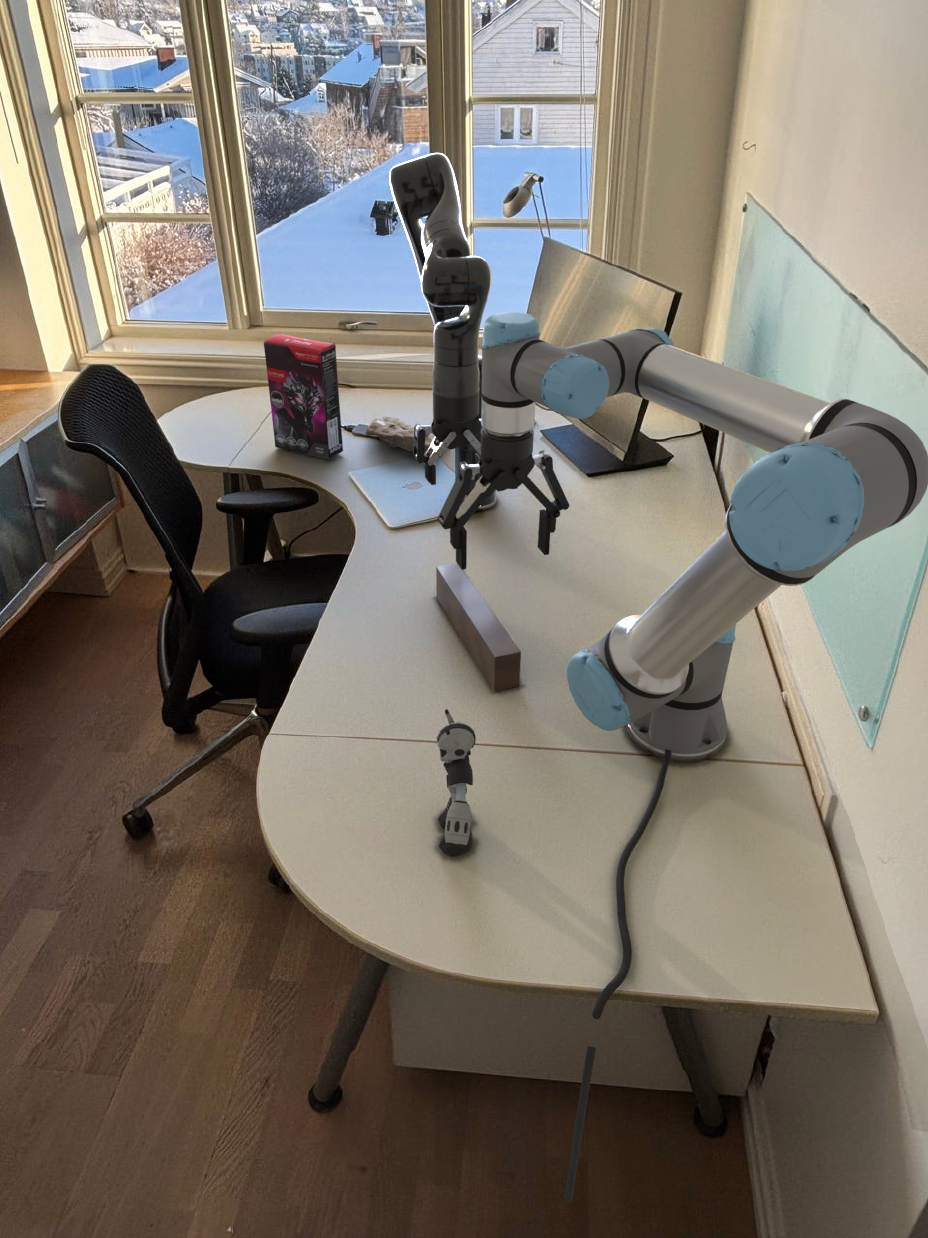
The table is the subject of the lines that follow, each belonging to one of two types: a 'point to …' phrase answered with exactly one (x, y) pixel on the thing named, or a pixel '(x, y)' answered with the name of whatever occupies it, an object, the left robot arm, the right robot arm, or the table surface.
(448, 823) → the robot
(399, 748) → the table surface
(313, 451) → the graphics card box
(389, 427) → the stone
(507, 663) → the beam
